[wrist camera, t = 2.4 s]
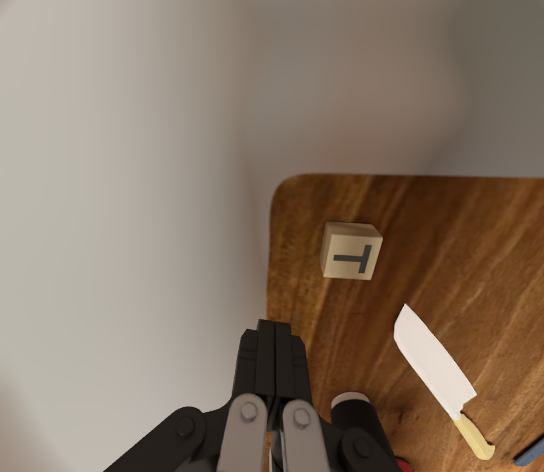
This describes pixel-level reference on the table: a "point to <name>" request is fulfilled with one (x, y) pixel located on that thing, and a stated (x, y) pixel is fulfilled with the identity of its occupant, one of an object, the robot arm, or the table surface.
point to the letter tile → (349, 250)
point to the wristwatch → (531, 454)
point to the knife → (439, 375)
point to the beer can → (404, 466)
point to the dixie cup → (359, 417)
